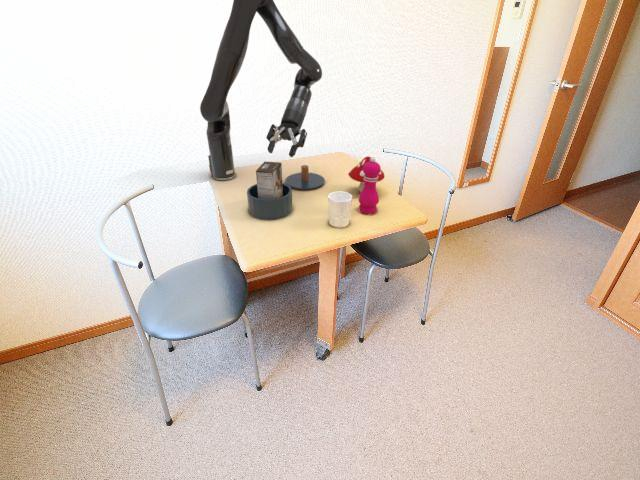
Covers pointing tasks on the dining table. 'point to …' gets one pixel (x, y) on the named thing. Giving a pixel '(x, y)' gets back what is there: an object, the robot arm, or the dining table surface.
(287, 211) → the pot
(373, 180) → the pepper mill
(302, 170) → the pot lid
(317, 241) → the dining table surface
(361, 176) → the decorative mushroom
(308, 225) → the dining table surface
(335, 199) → the white cup
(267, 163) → the coffee box
